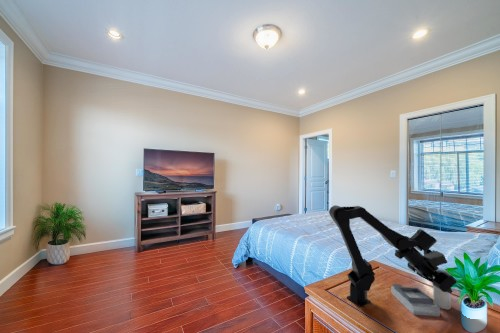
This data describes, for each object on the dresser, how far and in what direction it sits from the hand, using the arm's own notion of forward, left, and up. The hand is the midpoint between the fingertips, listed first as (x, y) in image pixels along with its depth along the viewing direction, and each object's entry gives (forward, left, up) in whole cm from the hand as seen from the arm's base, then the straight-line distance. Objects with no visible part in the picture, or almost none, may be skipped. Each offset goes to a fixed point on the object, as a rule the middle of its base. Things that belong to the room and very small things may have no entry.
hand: (445, 288), depth 83 cm
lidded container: (-1, +1, -7) cm, 7 cm away
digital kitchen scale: (-10, +6, -7) cm, 14 cm away
